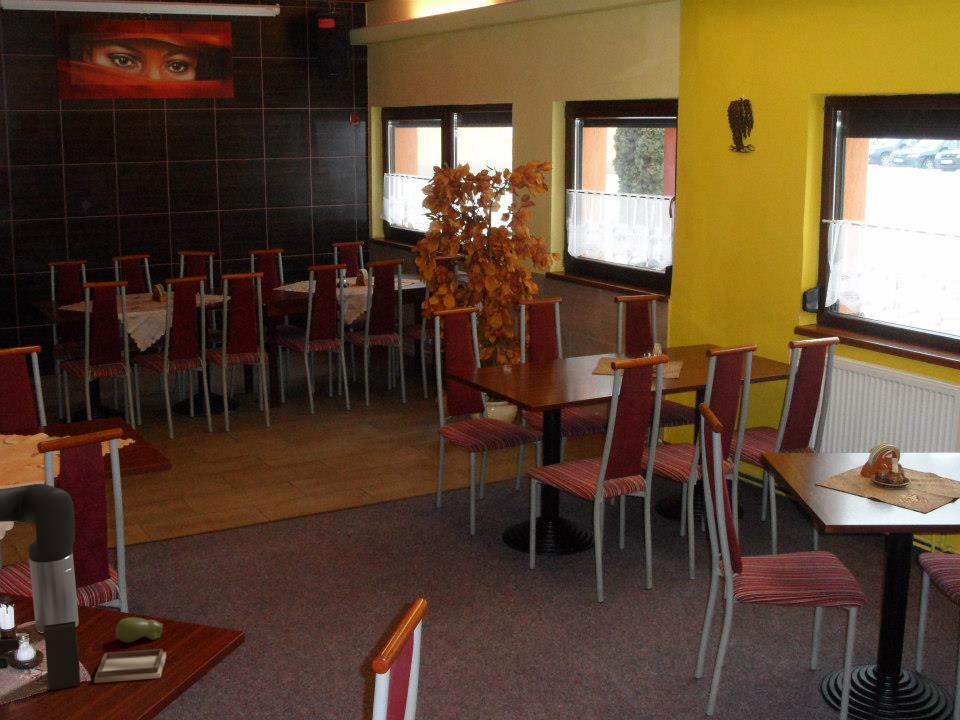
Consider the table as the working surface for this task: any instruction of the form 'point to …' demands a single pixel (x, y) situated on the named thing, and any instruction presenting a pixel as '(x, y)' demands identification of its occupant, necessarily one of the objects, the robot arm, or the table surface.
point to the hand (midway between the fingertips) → (13, 652)
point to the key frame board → (131, 665)
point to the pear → (138, 629)
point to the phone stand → (62, 655)
